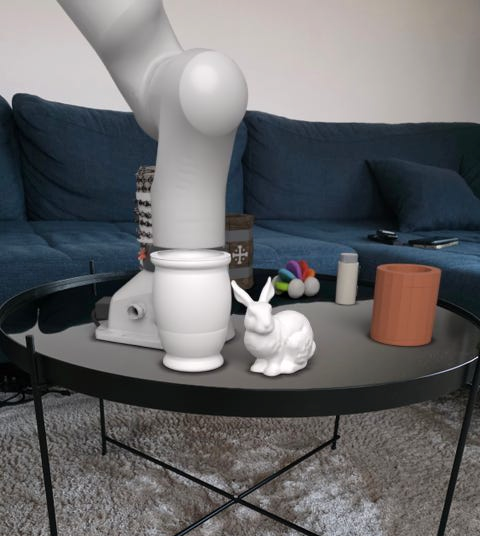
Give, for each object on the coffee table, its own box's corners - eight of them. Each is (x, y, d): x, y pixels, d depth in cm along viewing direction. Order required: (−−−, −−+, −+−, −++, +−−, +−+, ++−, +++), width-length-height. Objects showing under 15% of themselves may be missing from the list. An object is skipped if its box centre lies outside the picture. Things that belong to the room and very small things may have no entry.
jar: (140, 368, 81) (133, 255, 75) (181, 349, 89) (178, 245, 83) (207, 381, 76) (205, 261, 70) (244, 359, 85) (245, 251, 79)
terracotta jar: (368, 343, 93) (375, 272, 88) (371, 328, 101) (378, 262, 97) (432, 348, 91) (442, 275, 86) (429, 332, 99) (439, 265, 95)
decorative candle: (186, 305, 116) (182, 166, 106) (138, 306, 115) (130, 165, 105) (183, 295, 125) (179, 165, 114) (138, 296, 123) (131, 165, 113)
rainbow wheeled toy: (325, 296, 125) (327, 261, 122) (289, 301, 120) (290, 264, 117) (299, 289, 131) (301, 255, 128) (264, 294, 126) (265, 259, 123)
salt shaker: (334, 304, 118) (337, 255, 115) (336, 299, 122) (339, 252, 118) (354, 305, 118) (358, 256, 114) (355, 301, 121) (360, 253, 117)
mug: (247, 279, 142) (248, 213, 136) (260, 290, 130) (261, 218, 124) (165, 281, 139) (162, 213, 133) (170, 293, 127) (167, 219, 121)
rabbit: (262, 383, 76) (264, 289, 71) (219, 365, 82) (218, 277, 78) (329, 366, 82) (335, 278, 78) (284, 350, 89) (288, 268, 84)
